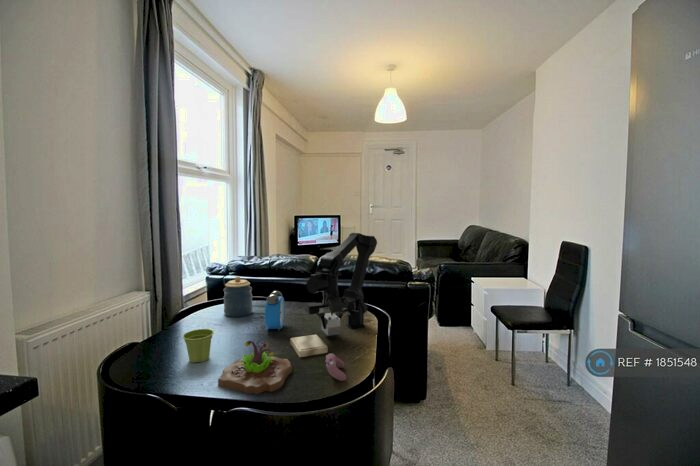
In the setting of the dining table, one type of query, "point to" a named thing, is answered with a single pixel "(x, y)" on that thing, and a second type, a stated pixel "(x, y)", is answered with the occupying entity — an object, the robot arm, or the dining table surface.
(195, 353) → the plant pot
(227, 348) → the dining table surface
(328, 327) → the box
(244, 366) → the plant
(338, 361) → the video game controller
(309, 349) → the beige tray
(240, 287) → the canister
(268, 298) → the alarm clock
